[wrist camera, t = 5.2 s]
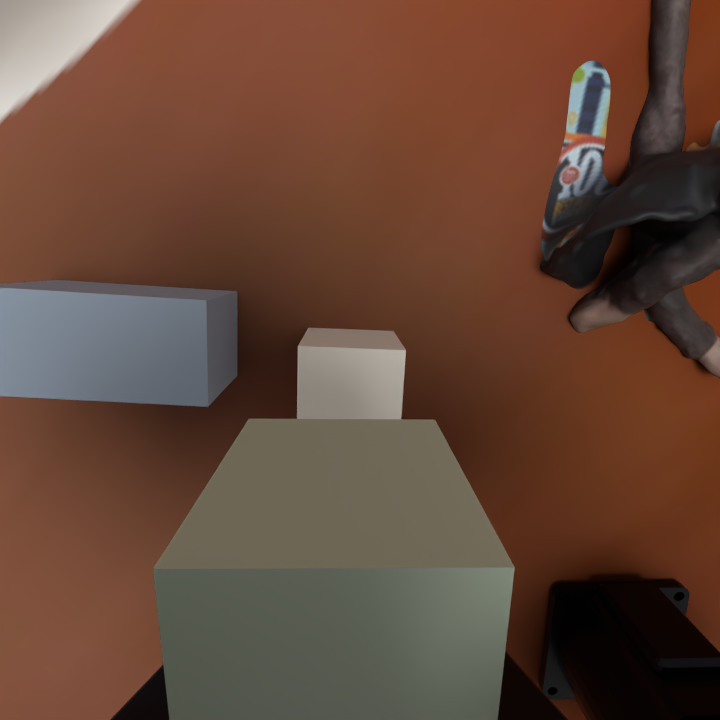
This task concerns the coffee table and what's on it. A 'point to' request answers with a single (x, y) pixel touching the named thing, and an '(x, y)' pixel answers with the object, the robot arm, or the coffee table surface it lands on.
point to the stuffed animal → (639, 200)
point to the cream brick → (350, 374)
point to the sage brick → (335, 580)
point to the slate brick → (116, 342)
